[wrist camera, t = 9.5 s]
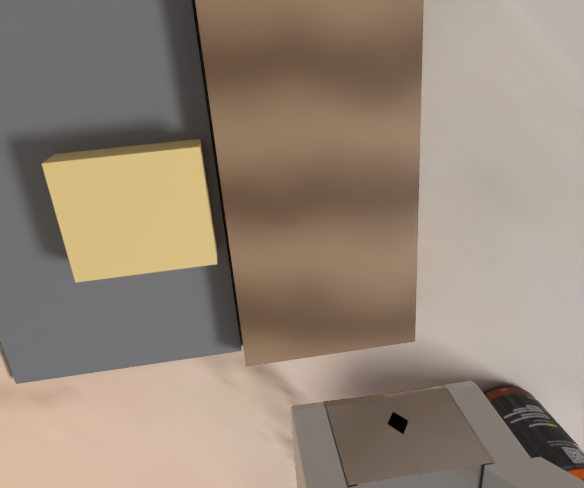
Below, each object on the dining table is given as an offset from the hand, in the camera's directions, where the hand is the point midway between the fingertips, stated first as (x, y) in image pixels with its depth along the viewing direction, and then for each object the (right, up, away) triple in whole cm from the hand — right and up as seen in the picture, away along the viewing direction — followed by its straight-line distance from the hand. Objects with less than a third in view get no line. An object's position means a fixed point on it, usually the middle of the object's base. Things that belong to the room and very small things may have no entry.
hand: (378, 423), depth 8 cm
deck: (0, +7, +18) cm, 19 cm away
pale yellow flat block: (-9, +5, +17) cm, 20 cm away
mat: (-12, +5, +17) cm, 21 cm away
